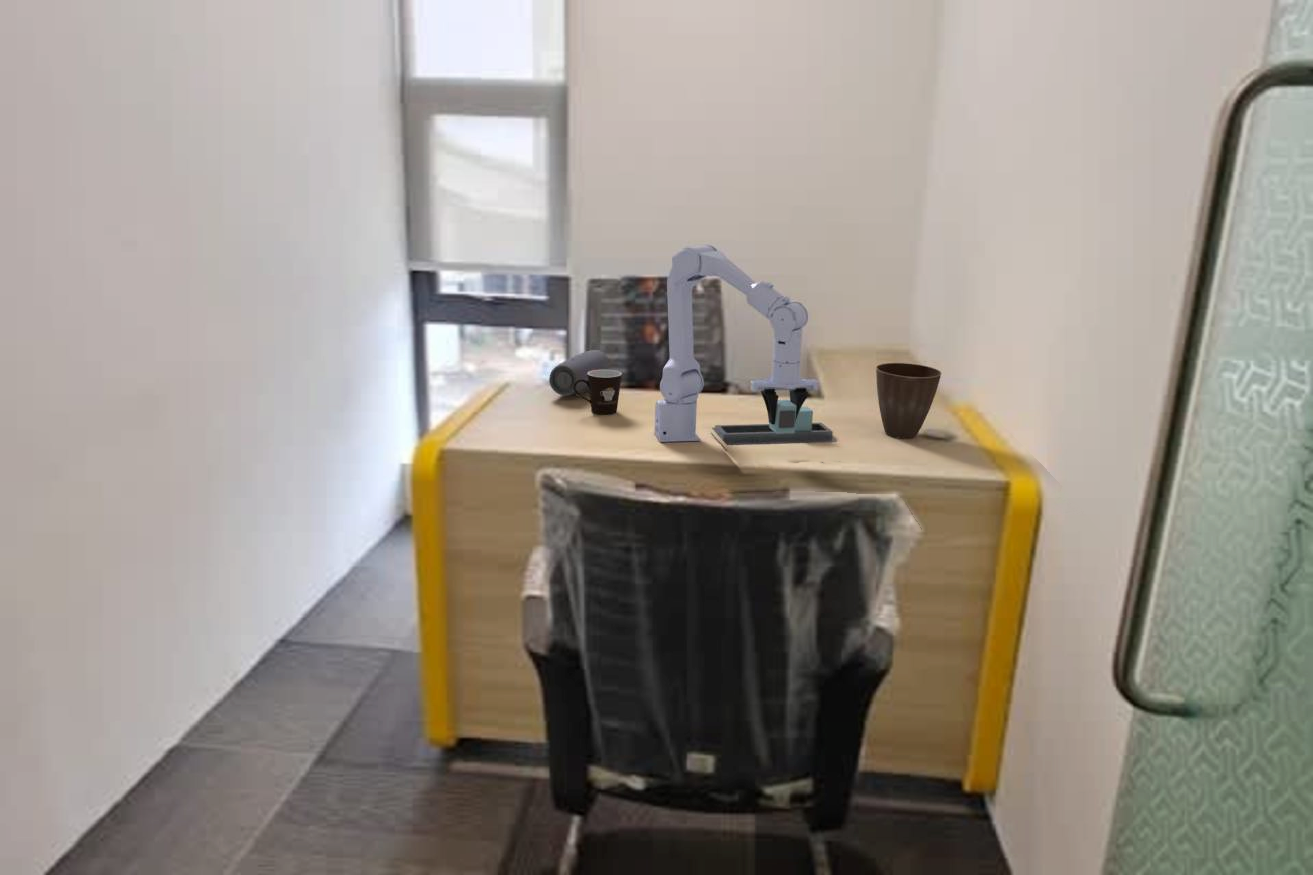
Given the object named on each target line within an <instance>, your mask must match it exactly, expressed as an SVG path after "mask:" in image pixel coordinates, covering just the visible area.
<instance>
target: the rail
mask: <svg viewBox="0 0 1313 875" xmlns="http://www.w3.org/2000/svg"><path fill="white" fill-rule="evenodd" d="M711 429H712V431H714V432H715V433H716V435H717V436H718V437H719V438H720V440H722V442H723V443H724V444H725V445H726V446H742V445H743V446H745V445H747V446H751V445H753V446H755V445H783V444H815V443H816V444H817V443H819V444H820V443H822V444H823V443H838V440H836V439H834V437H833V435H834V434H833V433H834V432H833V430H832V429H830V428H829V427H827V425H825V424H823V423H822V422H812V431H795V433H783V434H776V433H775V432H774V431H773V430H772V429H771V428H769V423H757V424H756V423H751V424H718V425H717V424H716V425H715V426H714V427H711ZM710 435H712V437H713V438H714V439H715V440H716V441H717V442H718V443H719V445H720V444H721V445H720V446H721V447H722V448H723V450H725V452H726V451H728V450H727V449H726V447H724V446H723V444H722V443H721V442H720V441H719V440H718V438H717V437H716V436H715V435H714V434H713V433H712V432H711V433H710Z"/></svg>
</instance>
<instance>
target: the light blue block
mask: <svg viewBox="0 0 1313 875" xmlns="http://www.w3.org/2000/svg"><path fill="white" fill-rule="evenodd" d="M813 417H814V411H813V410H812V409H811V408H810V407H808V406H801V408H800V411H799V413H798V416H797V419H796V422H795V431H812V423H813Z"/></svg>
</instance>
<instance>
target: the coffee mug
mask: <svg viewBox="0 0 1313 875" xmlns="http://www.w3.org/2000/svg"><path fill="white" fill-rule="evenodd" d="M622 373H623V372H621V371H619V370H614V369H609V370H593V371H589V372H588V373H587V374H588V381H586V380H584V379H580V380H577V381H576V382H575V383H574V386H573V389H574V391H575V392H576V393H577V394H578V395H577V396H578V397H580V398H582V399H583V400H585V401H587V402H589V404H590V408H591V411H590V412H591V413H592V414H594V415H597V416H613V415H615V414H617V413H618V405H619V404H618V403H619V399H620V398H619V397H620V389H621V383H622V375H623V374H622ZM579 382H585V383H586V384H587V386H588V387H589V390H588V392H589V398H587V397H586V396H584V395H582V394H579V393H578V392H577V391H576V384H577V383H579Z"/></svg>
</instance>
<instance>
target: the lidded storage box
mask: <svg viewBox="0 0 1313 875" xmlns="http://www.w3.org/2000/svg"><path fill="white" fill-rule="evenodd" d="M795 419H796V405H795V404H793V403H792V402H791V401H790V399H778V401H777V406H776V419H775V424H771V423H769V422H768V424H769V428H771V429H772V430H773V431H774V432H775V433H776V434H783V433H795Z"/></svg>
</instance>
